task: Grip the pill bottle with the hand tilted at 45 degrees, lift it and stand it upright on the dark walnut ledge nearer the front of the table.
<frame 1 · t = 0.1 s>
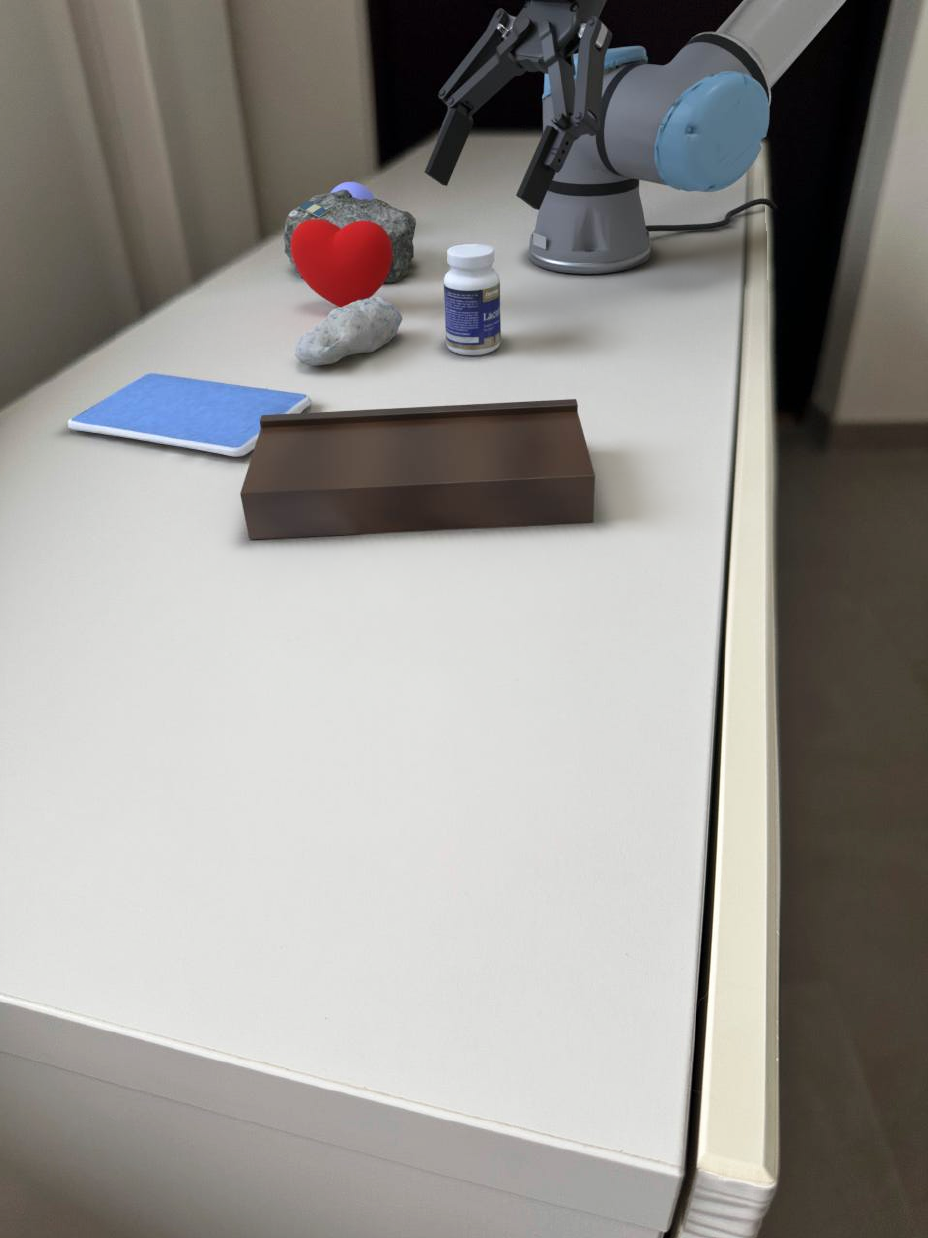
hand: (479, 190, 98), 15 cm above the dresser, tool tilted 35°, fingers open, 13 cm apart
sphere: (354, 236, 142), on the dresser
pill bottle: (474, 348, 106), on the dresser
heart: (348, 312, 117), on the dresser
rock: (353, 271, 129), on the dresser
ledge: (421, 492, 81), on the dresser
decorative stone: (351, 354, 107), on the dresser
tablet: (192, 421, 95), on the dresser
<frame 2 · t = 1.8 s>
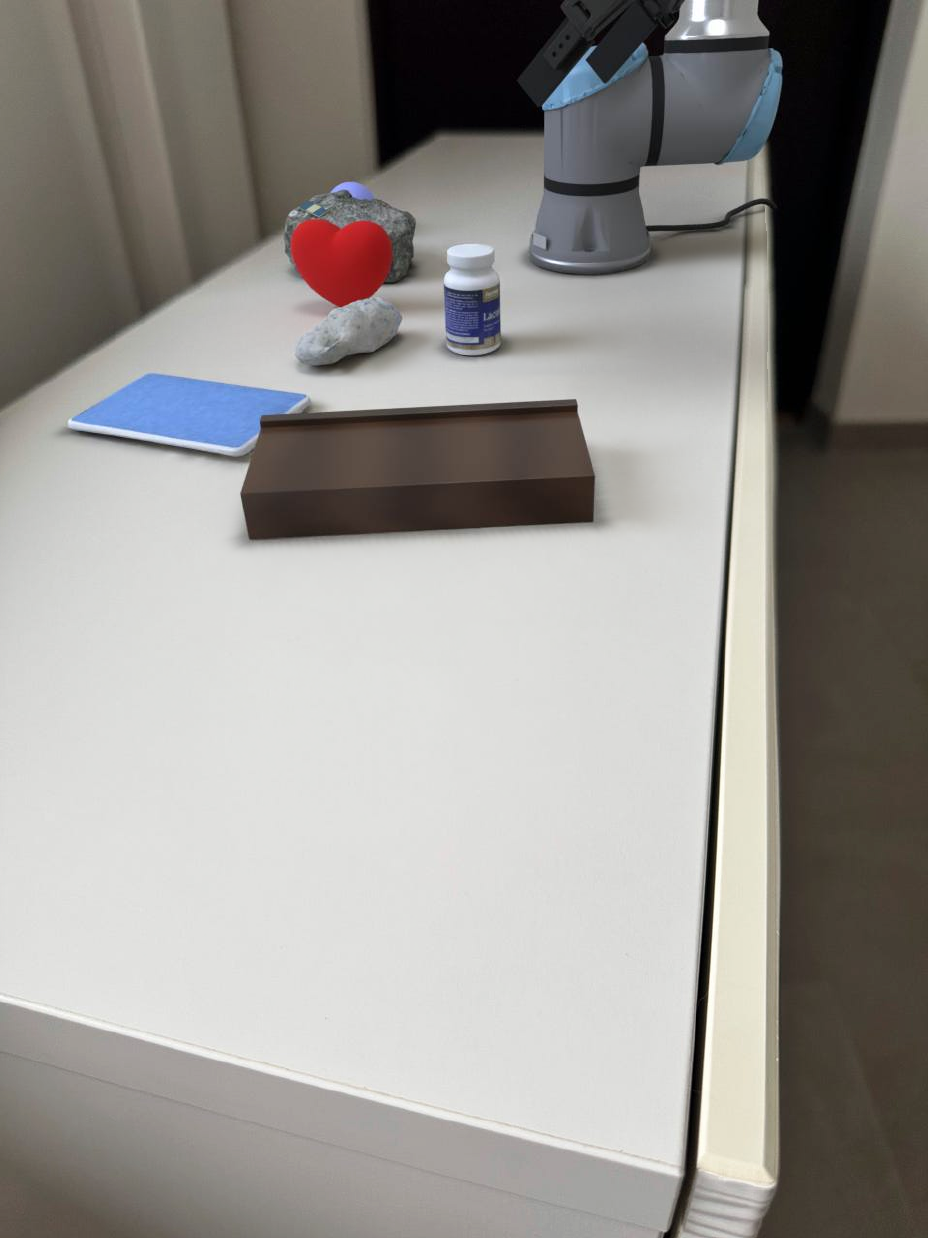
hand: (564, 81, 88), 25 cm above the dresser, tool tilted 45°, fingers open, 13 cm apart
nothing on the dresser moved.
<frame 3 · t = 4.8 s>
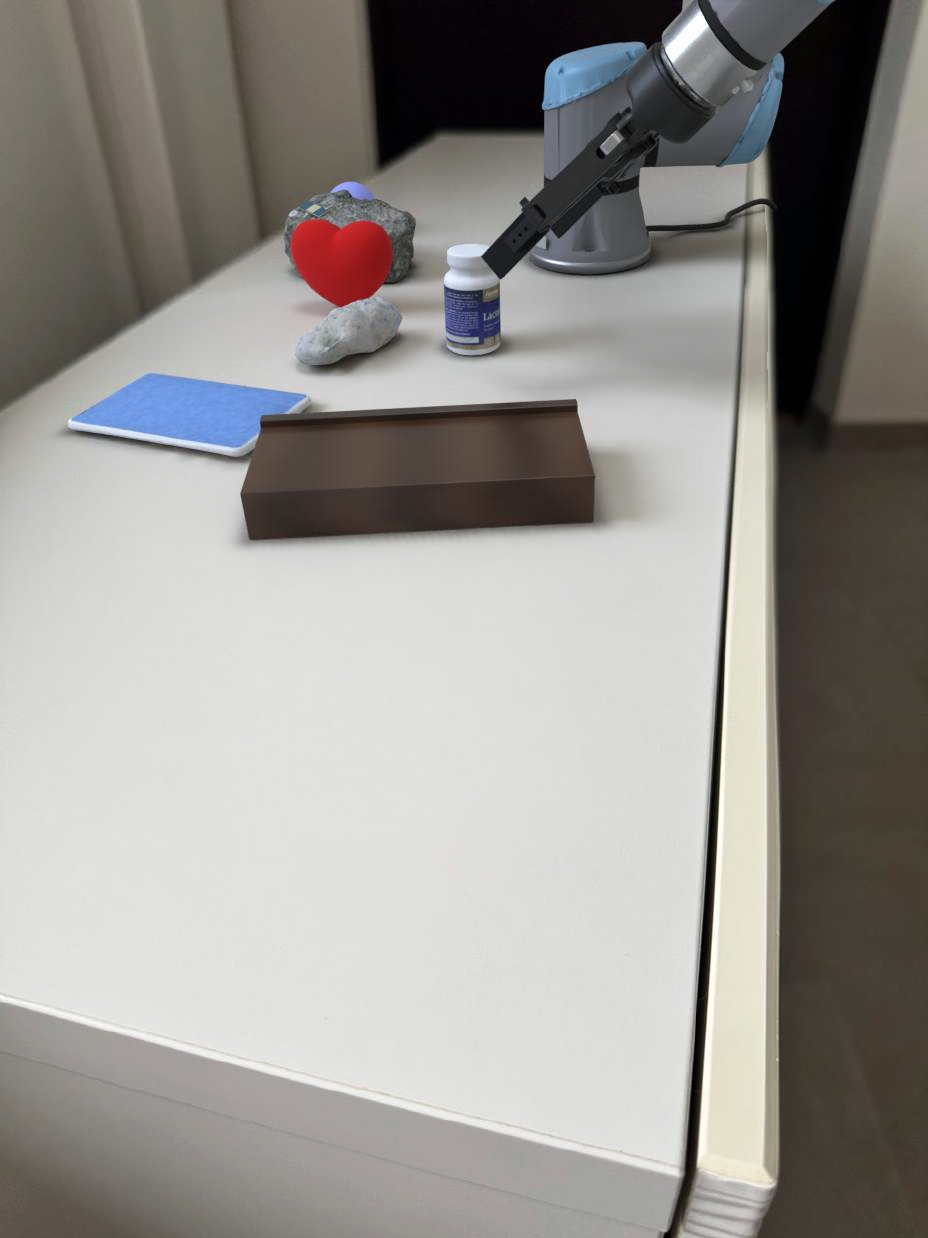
hand: (523, 246, 97), 11 cm above the dresser, tool tilted 45°, fingers open, 13 cm apart
nothing on the dresser moved.
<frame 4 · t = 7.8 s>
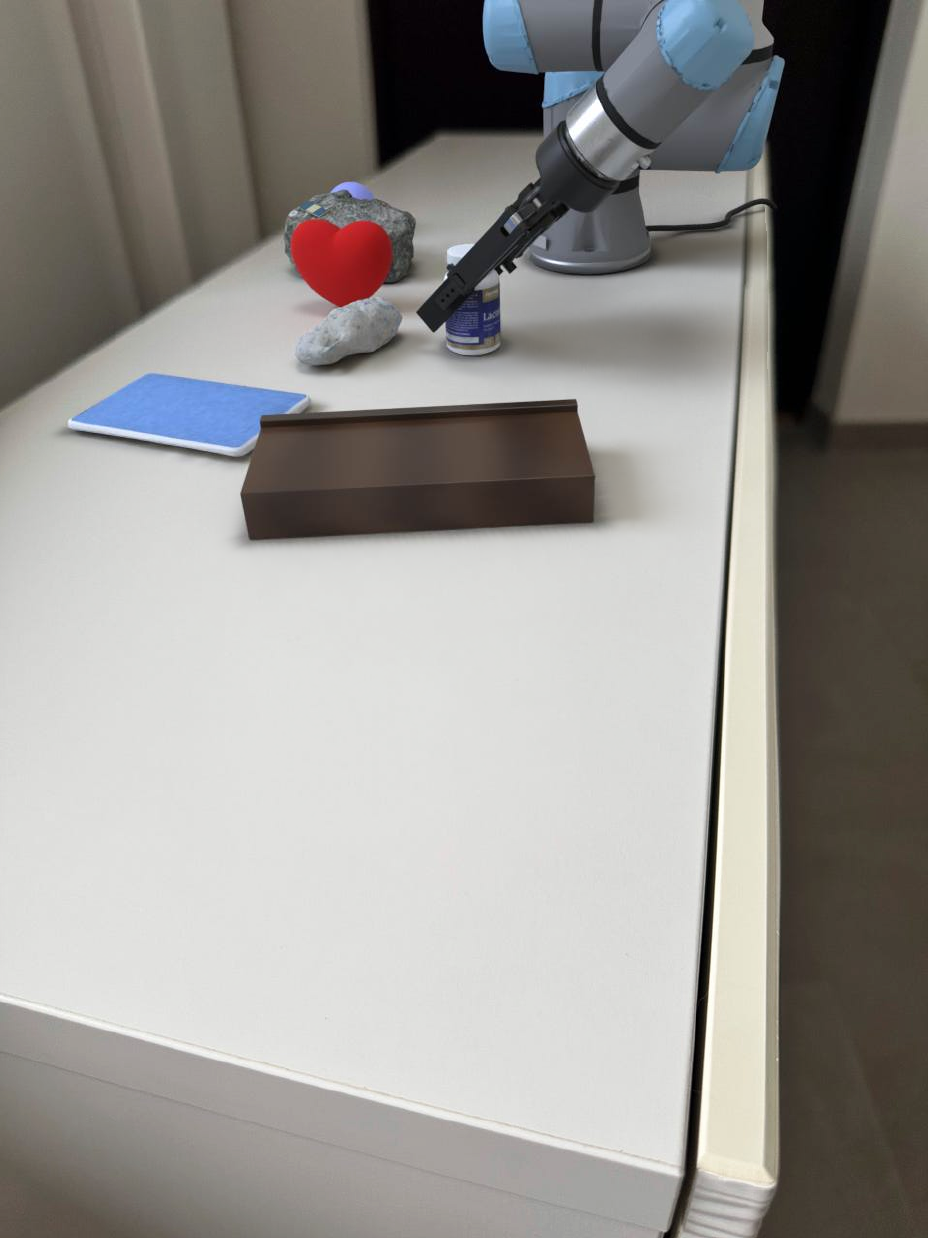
hand: (441, 310, 106), 3 cm above the dresser, tool tilted 45°, fingers closed on pill bottle, 6 cm apart
pill bottle: (474, 348, 106), on the dresser, touching gripper
everything else where it was.
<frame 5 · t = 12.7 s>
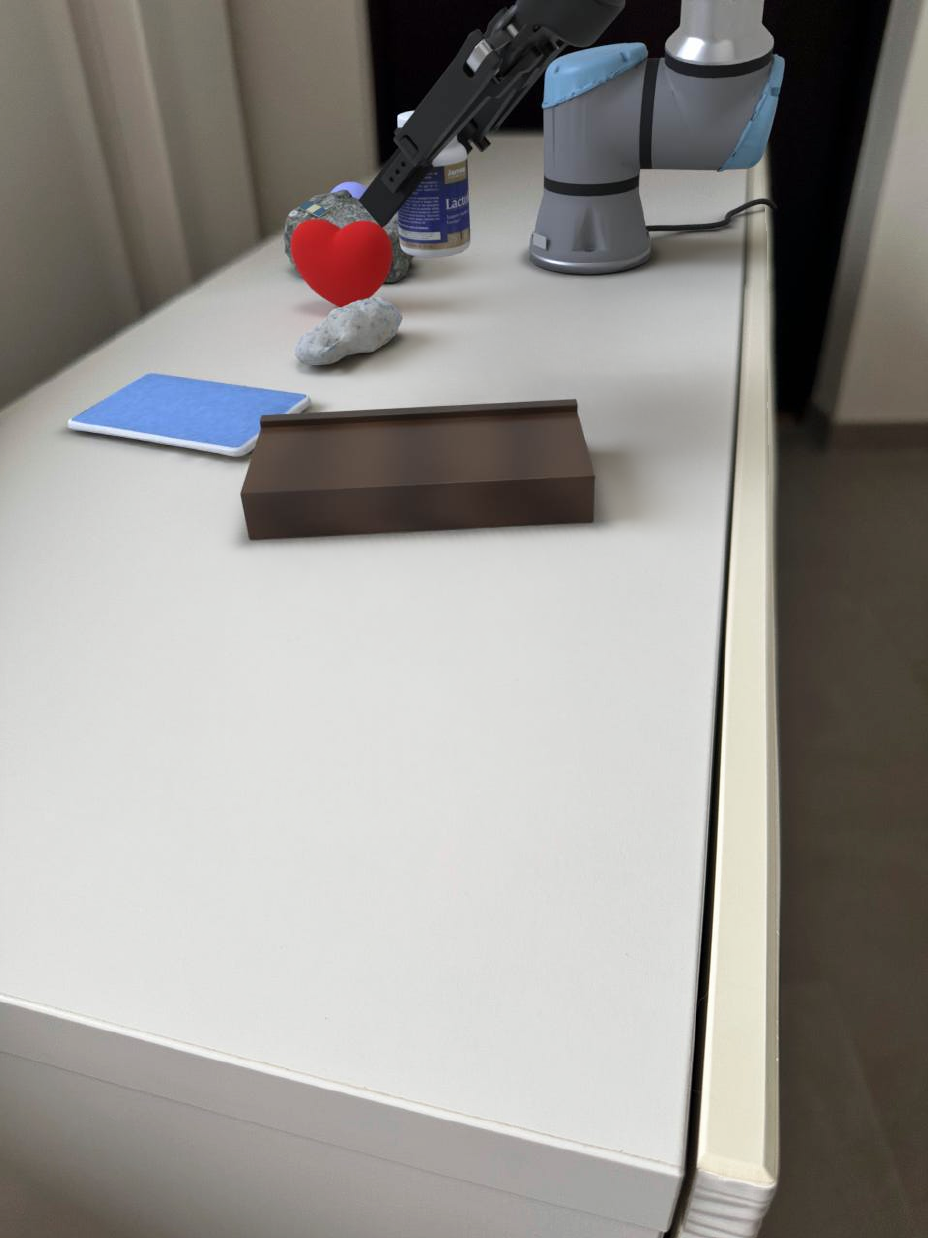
hand: (393, 202, 82), 19 cm above the dresser, tool tilted 45°, fingers closed on pill bottle, 6 cm apart
pill bottle: (436, 251, 82), point 15 cm above the dresser, touching gripper
everything else where it was.
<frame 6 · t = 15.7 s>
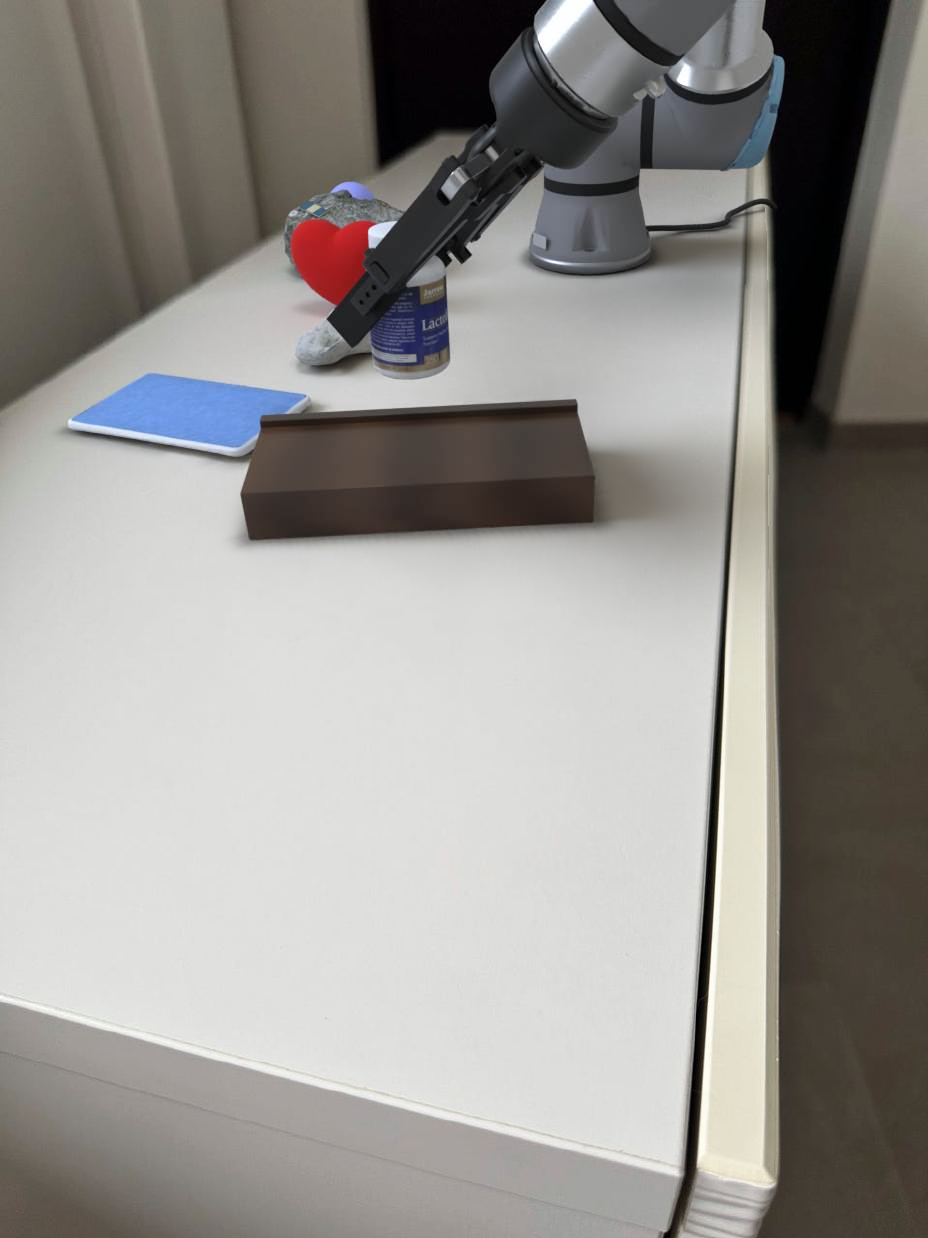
hand: (366, 316, 75), 14 cm above the dresser, tool tilted 45°, fingers closed on pill bottle, 6 cm apart
pill bottle: (412, 369, 75), point 10 cm above the dresser, touching gripper
everything else where it was.
when the fingers open (7 cm above the dresser, at t = 17.9 s): pill bottle stays where it is, resting on ledge.
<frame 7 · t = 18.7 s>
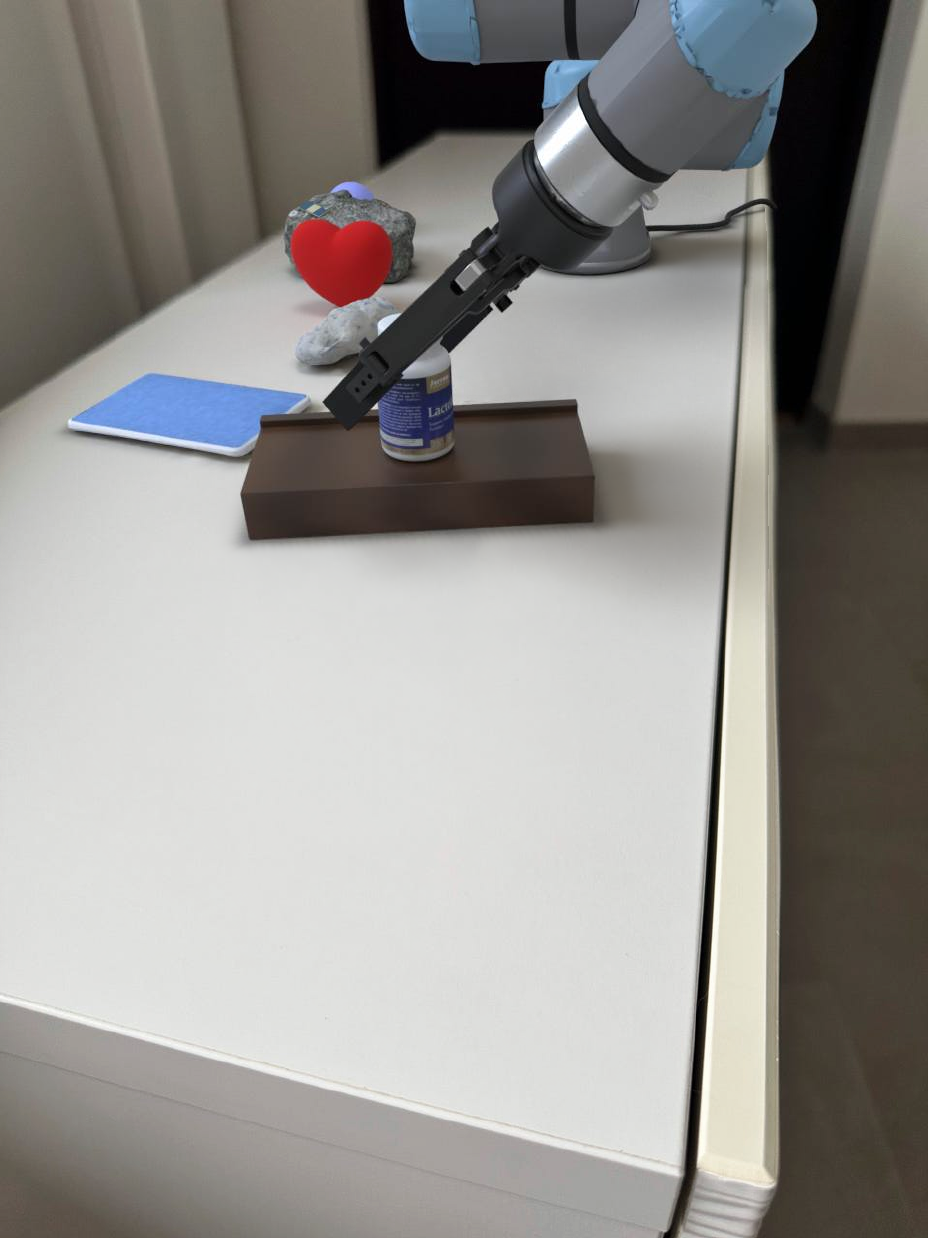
hand: (386, 379, 77), 9 cm above the dresser, tool tilted 45°, fingers open, 13 cm apart
pill bottle: (419, 449, 79), point 4 cm above the dresser, touching ledge
everything else where it was.
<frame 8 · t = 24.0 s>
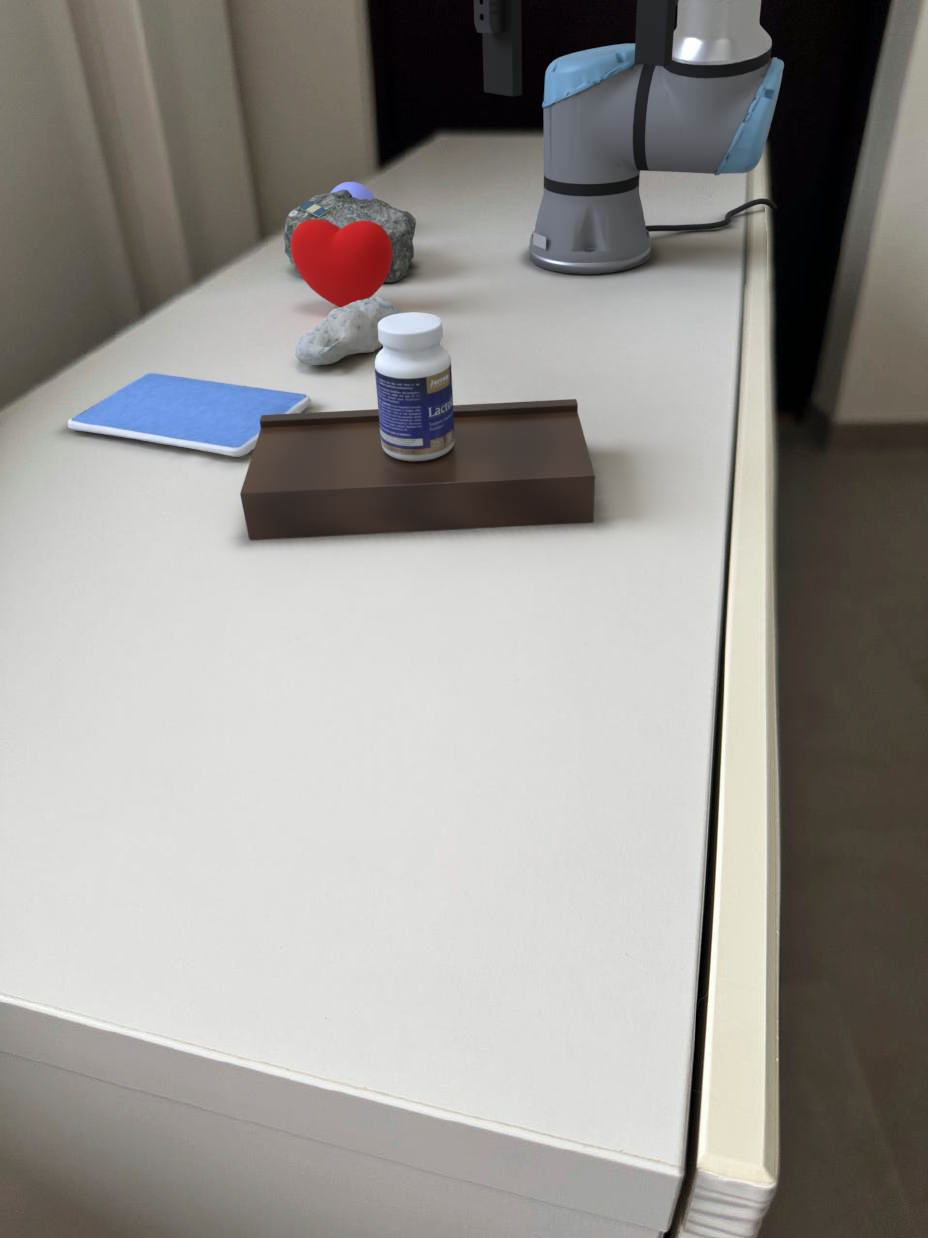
hand: (581, 78, 66), 29 cm above the dresser, tool pointing down, fingers open, 13 cm apart
nothing on the dresser moved.
at the end: pill bottle inside the target area on the ledge (0.0 cm from its centre), point 3.8 cm above the ledge's base; pill bottle tilted 0°; the gripper is holding nothing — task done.
